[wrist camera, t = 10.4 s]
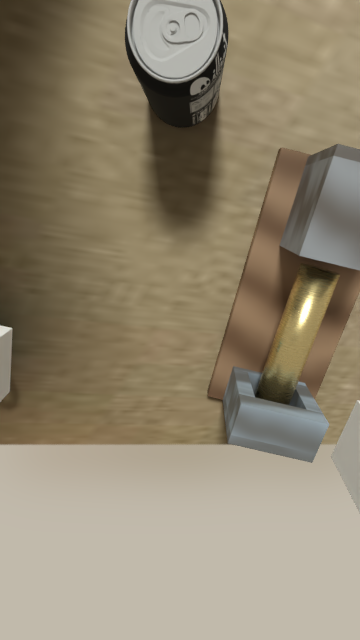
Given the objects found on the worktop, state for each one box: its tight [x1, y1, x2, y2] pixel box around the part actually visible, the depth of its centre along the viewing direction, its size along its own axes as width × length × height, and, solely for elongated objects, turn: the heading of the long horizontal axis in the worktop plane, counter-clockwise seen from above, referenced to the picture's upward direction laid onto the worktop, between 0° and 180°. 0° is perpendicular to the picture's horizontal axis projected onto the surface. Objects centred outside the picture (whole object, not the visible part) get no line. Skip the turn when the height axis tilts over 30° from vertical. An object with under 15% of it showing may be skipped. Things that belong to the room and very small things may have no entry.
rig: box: [208, 144, 360, 463], centre depth 33 cm, size 27×12×9 cm, turn 167°
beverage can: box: [125, 0, 228, 127], centre depth 26 cm, size 7×7×12 cm
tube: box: [254, 263, 340, 405], centre depth 34 cm, size 16×4×4 cm, turn 167°
